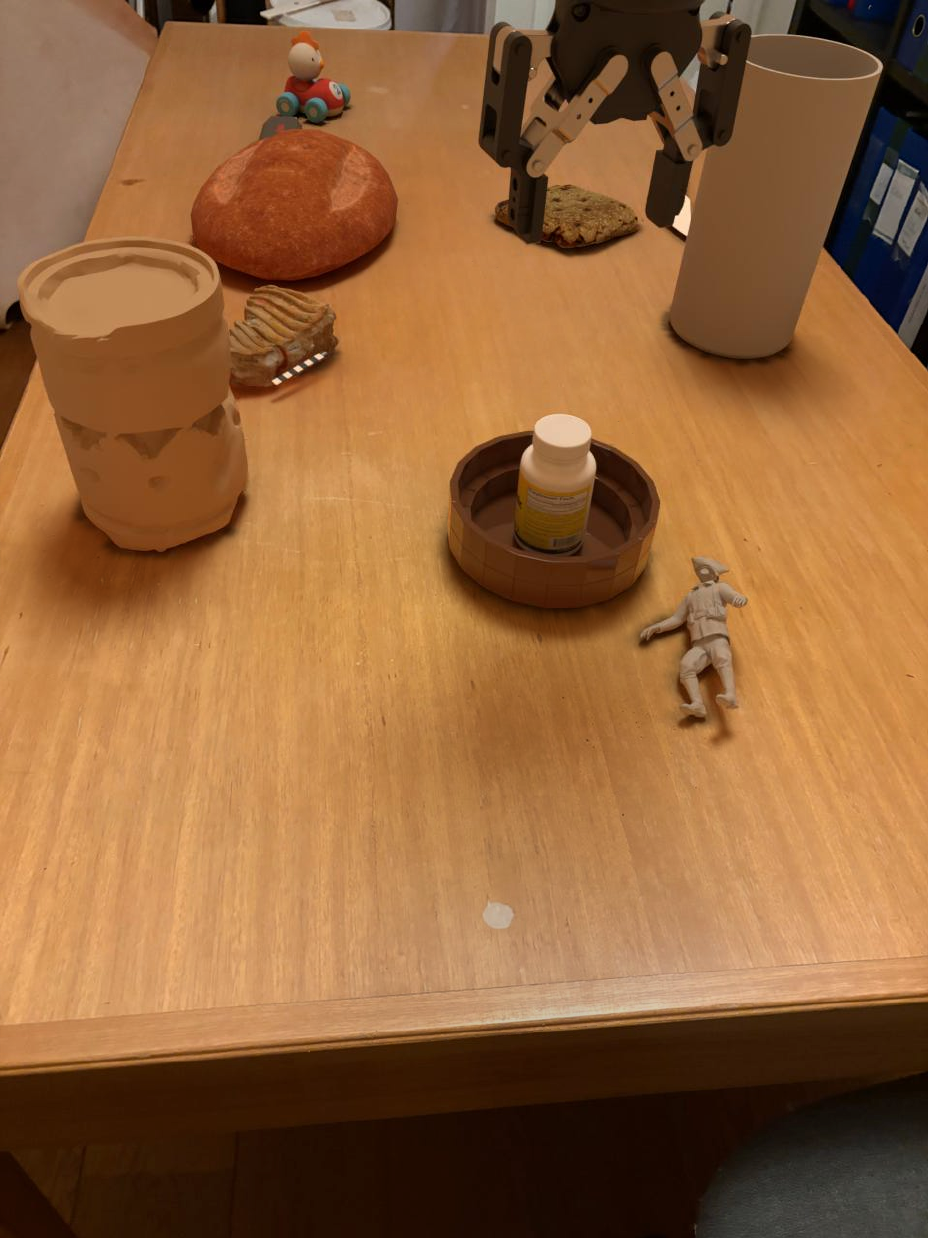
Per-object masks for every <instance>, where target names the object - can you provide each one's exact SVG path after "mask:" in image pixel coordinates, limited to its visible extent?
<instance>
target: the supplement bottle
mask: <svg viewBox="0 0 928 1238" xmlns="http://www.w3.org/2000/svg"><path fill="white" fill-rule="evenodd" d="M533 431H534V433H533V439H532V442H533V444H532V445H530V446H529V447H528V448H527V449H526V450H525V452H524V453H523V455H522V458H521V463H520V472H519V482H518V492H517V503H516V512H515V521H514V536H515V539H516V541H517V543H518V545H519V546H520V547H521V548H522V549H523V550H525V551H527V552H532V553H537V554H542V555H547V556H551V557H567V556H570V555H572V554H573V553H575V552H576V551H577V550H578V549H579V548H580V547H581V546H582V544H583V541H584V537H585V532H586V527H587V521H588V515H589V509H590V504H591V498H592V492H593V486H594V480H595V474H596V462H595V459H594V457H593V455H592V453H591V452H590V451H589V449H590V443H591V438H592V436H593V433H592V432H593V431H592V429H591V426H590V425H589V424H588V423H587V422H586V421H585V420H583V419H582V418H579V417H577V416H575V415H571V414H566V413H553V414H549V415H546V416H545V415H544V416H543V417H541V418H540V419H538V420H537V421H536V423H535V424H534V427H533Z"/></svg>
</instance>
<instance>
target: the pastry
mask: <svg viewBox="0 0 928 1238" xmlns="http://www.w3.org/2000/svg"><path fill="white" fill-rule="evenodd" d="M507 211H508V199H504V200H501V201H499V202H497V204H496V205H495V207H494V213H495V218H496V220H497V221H498V222H499V223H503V225H505V226H508V227H511V228H513V227H512V226H511V225H510V224H509V220H508V217H507ZM638 220H639V218H638V215H637V214H636V212H635V210H634V209H633V208H632V207H631V206H629V204H627V203H624V202H623V201H619V200H618V199H616V198H613V197H610V196H608V195H604V194H603V193H602V194H601V193H598V192H594V191H591V190H586V189H584V188H581V187H579V186H577V185H574V184H571V183H569V184H563V185H560V184H555V185H551V186H547V195H546V204H545V213H544V222H543V231H542V239H541V241H544V242H547V243H551V242H553V243H556V244H557V245H558V247H559V248H562V249H572V248H573V249H574V248H576V247H578V248H579V247H584V246H588V245H593V244H600V243H604V242H607V241H609V240H612V239H613V238H616V237H619V236H621V237H622V236H626V235H628V234H632V233H634V232H636V231H637V230H638V229H639V224H638ZM513 229H514V228H513Z"/></svg>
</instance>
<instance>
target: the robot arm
mask: <svg viewBox="0 0 928 1238" xmlns="http://www.w3.org/2000/svg"><path fill="white" fill-rule="evenodd" d="M705 2H706V0H554V7H553V8H554V9H553V12H552V15H551V17H550V20H549V22H548V24H547V26H546V28H545V29H517V28H515V27H513V26H512V25H511V24H510V23H508V22H506V21H498V22H497V23H495V24H494V25H493V26H492V28H491V30H490V32H489V41H488V48H487V58H486V67H485V77H484V84H483V85H484V86H483V94H482V95H483V96H482V103H481V112H480V113H481V114H480V122H479V131H478V140H477V141H478V146H479V148H480V149H481V150H482V151H483V152H484V153H485V154H486V155H488V157H489V158H490V159H492V160H493V162H495V163H496V164H497V165H498V166H499V167H501V168H503V169H507V168H510V175H509V186H508V187H509V189H508V199H507V200H508V211H507V217H508V220H509V224H510V225H511V226H512V227H513V229H514V231H515V233H516V234H517V236H518V237H519V238H520V239H521V240H522V241H523V242H524V243H525V244H526V245H533V244H539V243H541V242H542V240H541V239H542V231H543V222H544V213H545V204H546V195H547V188H548V187H549V185H548V184H549V176H548V175H546V174H545V173H546V171H547V170H548V168H549V167H551V165H552V163H553V161H554V160H555V159H556V158H557V156H558V155H559V153H560V152H561V151H562V149H563V147H564V146H565V145H567V144H571V143H573V142H574V141H575V140H576V139H577V138H578V136H579V135H580V133H581V132H582V131H583V130H584V128H585V127H586V125H588V123H589V122H590V123H591V124H593V125H606V124H607V125H608V124H610V123H612V122H614V121H618V120H621V119H625V120H628V121H631V122H641V121H647V119H648V116H649V118H650V119H651V121H652V123H653V125H654V128H655V130H656V132H657V134H658V136H659V139H660V141H661V143H662V144H663V148H662V149H656V150H655V154H654V159H653V165H652V171H651V176H650V180H649V186H648V192H647V195H646V196H647V197H646V201H645V208H644V213H645V217H646V218H647V220H649V221H650V222H651V223H652V224H654V225H655V226H656V227H657V228H659V229H662V228H669V227H670V228H671V227H673V226H672V225H673V223H674V220H675V216H678V215H679V214H680V212H681V210H682V208H683V206H684V201H685V195H686V196H687V192H688V186H689V182H690V178H691V173H692V170H693V169H692V168H693V164H694V161H695V160H696V159H698V158H699V157H700V155H701V153H702V151H704V150H707V148H708V147H710V146H712V145H716V146H718V147H721V146H724V145H726V144H727V143H728V142H729V140H730V139H731V137H732V133H733V128H734V123H735V118H736V113H737V107H738V102H739V97H740V92H741V87H742V82H743V77H744V71H745V66H746V61H747V56H748V51H749V46H750V41H751V36H752V34H753V31H752V27H751V26H750V24H748V23H746V22H744V21H743V20H741V19H739V18H737V17H735V16H734V15H731V14H729V13H726V12H724V11H721V10H717V11H714V12H713V13H712V14H711V15H710V16H709V18H708V19H705V20H701V6H702V5H703V4H704V3H705ZM696 56H697V60H698V61H699V63H700V64H699V69H698V75H697V82H696V88H695V94H694V101H693V106H692V107H691V104H690V102H689V100H688V97H687V95H686V92H685V90H684V87H683V85H682V83H681V80H680V78H681V77H682V75H683V74H684V72H685V71H686V70H687V68H688V67H689V66H690V64H691V63H692V61H694V59H695V57H696ZM543 60H546V63H547V65H548V66H549V69H550V71H551V72H552V74H551V76H550V77H549V78H548V80H547V81H546V82H545V84H544V85H543V87H542V88H541V90H540V91H539V93H538V94H537V96H536V97H535V98H534V100H533V101H532V104H531V106H530V114H529V116H528V118H527V119H526V121H525V122H524V123H523V119H524V113H525V112H524V111H525V107H526V99H527V92H528V91H527V90H528V84H529V82H531V81H532V80H534V79H535V78H536V77H537V75H538V68H539V66H540V64H541V63H542V62H543ZM565 101H566V103H567V104H568V105H566V107H565V108H564V109H563V110H562V111H560V109H561V107H562V106H563V104H564V102H565ZM512 227H511V228H512Z"/></svg>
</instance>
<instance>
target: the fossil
mask: <svg viewBox="0 0 928 1238" xmlns="http://www.w3.org/2000/svg"><path fill="white" fill-rule="evenodd" d="M243 309H244V310H243V316H244V317H243V318H244V320H242V321H241V322H240V321H239V320H238V319H236V320H234V321H233V325H231V326H230V327H229V328H228V330H229V337H230V349H231V370H230V379H229V383H233V384H235V385H238V386H239V385H240V386H244V387H245V386H246V387H247V386H250V387H258V388H261V387H265V388H269V387H273V386H274V385H275V386H278V385H280V384H281V383H283V382H285V381H286V380H288V379H290V378H295V377H299V376H300V374H301V372H304V371H306V370H308V369H310V368H311V367H313V366H314V365H318V364H319V363H320V362H321V361H323V360H325V359H326V358H328V357H329V356H331V355H332V354H333V353H334V352H335V351H336V347H337V346H338V345H339V343H340V340H339V337H338V336H337V335H335V334H334V332H335V331H334V325H335V324H334V323H335V320H337V316H336V315H337V314H336V312H335V311H334V309H333V308H331V306H330V304H329V303H325V302H322V301H320V300H318V299H316V298H312V296H310V295H308V294H305V293H303V292H301V291H297V290H293V289H292V288H283V287H278V286H277V285H273V284H268V285H264V286H260V287H256V288H254V290H253V294H250V295H249V297H248V298H246V305H245V306H244V307H243Z"/></svg>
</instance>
